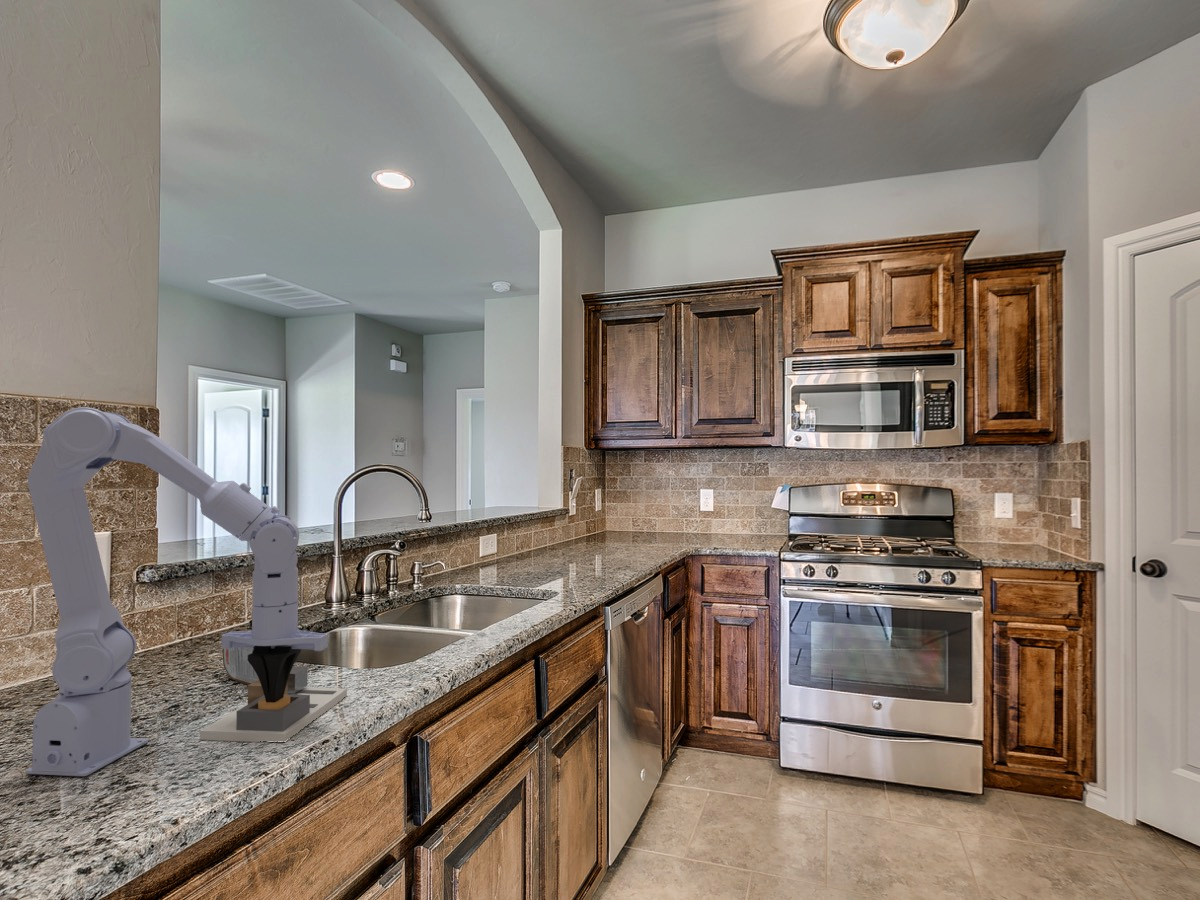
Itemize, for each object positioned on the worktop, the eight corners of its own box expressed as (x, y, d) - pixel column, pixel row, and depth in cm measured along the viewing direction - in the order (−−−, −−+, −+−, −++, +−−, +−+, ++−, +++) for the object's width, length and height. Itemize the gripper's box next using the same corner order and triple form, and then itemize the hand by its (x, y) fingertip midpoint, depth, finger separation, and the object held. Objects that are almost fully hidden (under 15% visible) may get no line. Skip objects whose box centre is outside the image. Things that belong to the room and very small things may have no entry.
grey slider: (294, 693, 98) (295, 673, 98) (270, 692, 98) (270, 673, 98) (307, 685, 101) (307, 666, 101) (283, 684, 102) (283, 666, 102)
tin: (288, 688, 105) (288, 637, 105) (269, 694, 102) (270, 642, 102) (236, 673, 112) (236, 625, 113) (218, 678, 110) (218, 629, 110)
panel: (284, 743, 84) (284, 715, 84) (199, 739, 85) (200, 712, 85) (346, 696, 101) (347, 672, 101) (275, 693, 102) (275, 670, 102)
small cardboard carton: (273, 707, 92) (273, 686, 92) (247, 706, 93) (247, 685, 93) (287, 698, 96) (287, 678, 96) (262, 697, 96) (262, 677, 96)
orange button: (279, 724, 86) (279, 705, 86) (251, 723, 87) (251, 704, 87) (296, 712, 90) (296, 694, 90) (269, 711, 91) (269, 694, 91)
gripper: (339, 597, 92) (338, 691, 92) (245, 596, 93) (244, 688, 93) (313, 608, 85) (312, 710, 85) (211, 606, 86) (210, 706, 86)
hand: (274, 700), depth 89 cm, fingers closed, pressing on orange button
